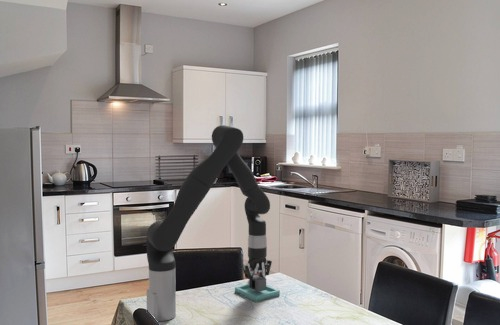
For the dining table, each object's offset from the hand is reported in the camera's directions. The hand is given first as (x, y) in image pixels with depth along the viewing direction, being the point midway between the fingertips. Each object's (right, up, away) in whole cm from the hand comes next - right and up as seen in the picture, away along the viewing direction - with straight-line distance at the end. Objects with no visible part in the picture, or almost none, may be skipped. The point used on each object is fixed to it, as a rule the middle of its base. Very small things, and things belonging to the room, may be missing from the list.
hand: (257, 287), depth 181 cm
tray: (0, -3, 0) cm, 3 cm away
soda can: (0, -2, +14) cm, 15 cm away
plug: (0, -1, 0) cm, 1 cm away
